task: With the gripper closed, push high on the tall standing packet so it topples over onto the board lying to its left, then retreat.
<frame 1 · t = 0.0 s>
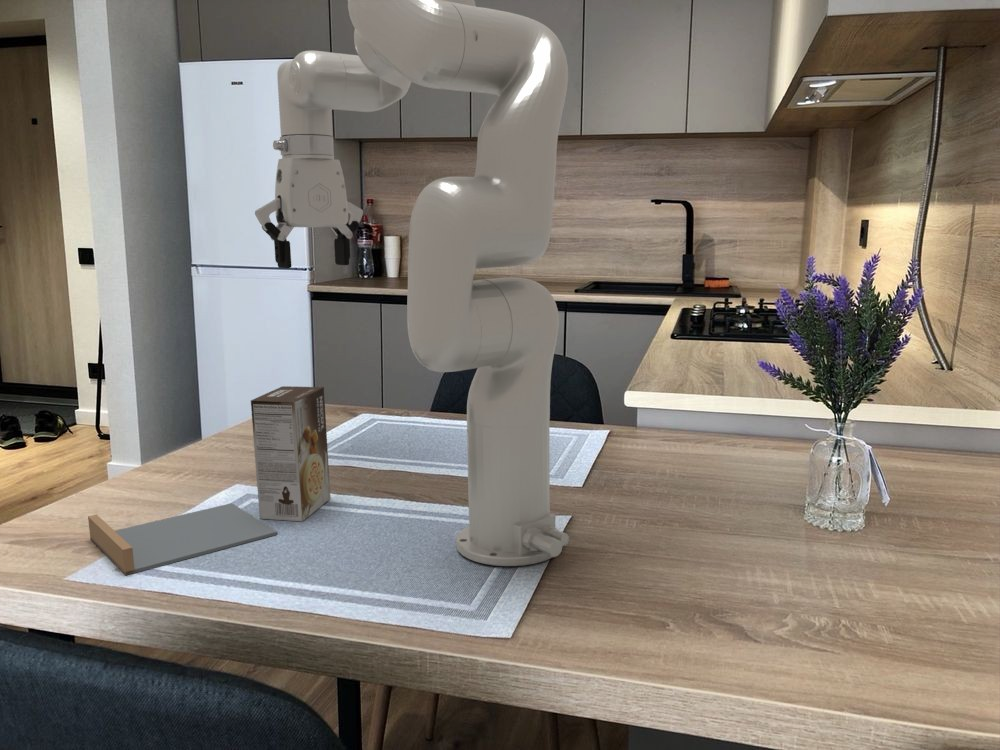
hand: (314, 266, 127), 31 cm above the table, fingers open, 9 cm apart
board: (184, 537, 103), on the table
coffee box: (296, 510, 113), on the table
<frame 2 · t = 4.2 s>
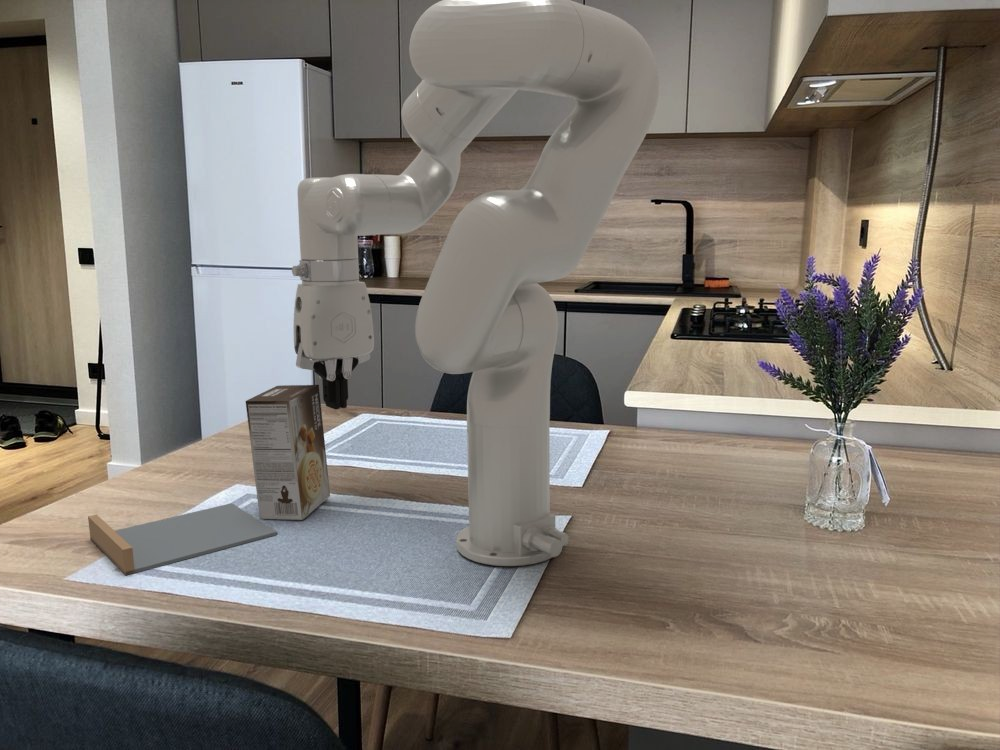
hand: (336, 406, 115), 13 cm above the table, fingers closed
coffee box: (296, 509, 113), on the table, touching gripper
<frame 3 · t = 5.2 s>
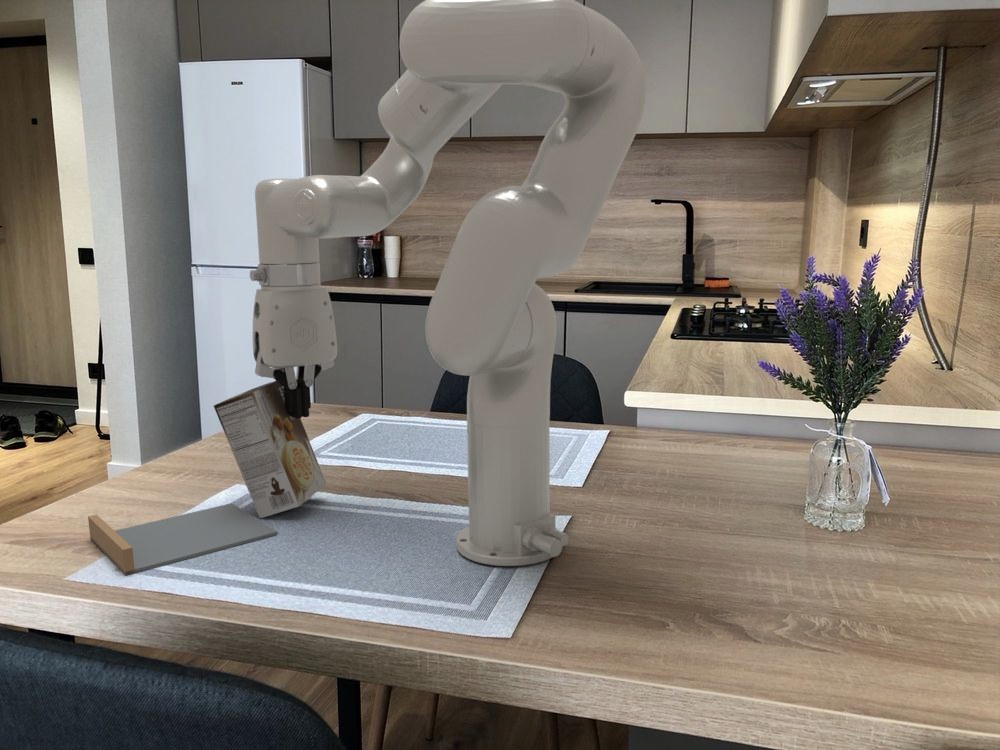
hand: (298, 415, 111), 13 cm above the table, fingers closed
coffee box: (294, 502, 113), point 1 cm above the table
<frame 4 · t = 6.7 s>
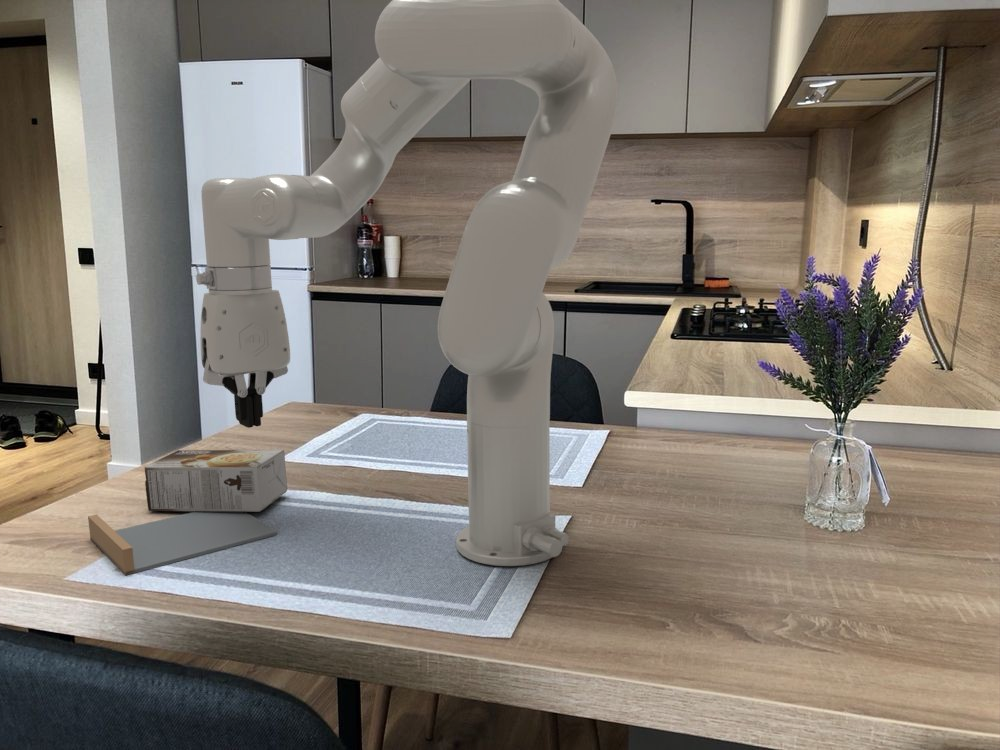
hand: (250, 424, 107), 13 cm above the table, fingers closed
coffee box: (274, 479, 113), point 4 cm above the table, touching board
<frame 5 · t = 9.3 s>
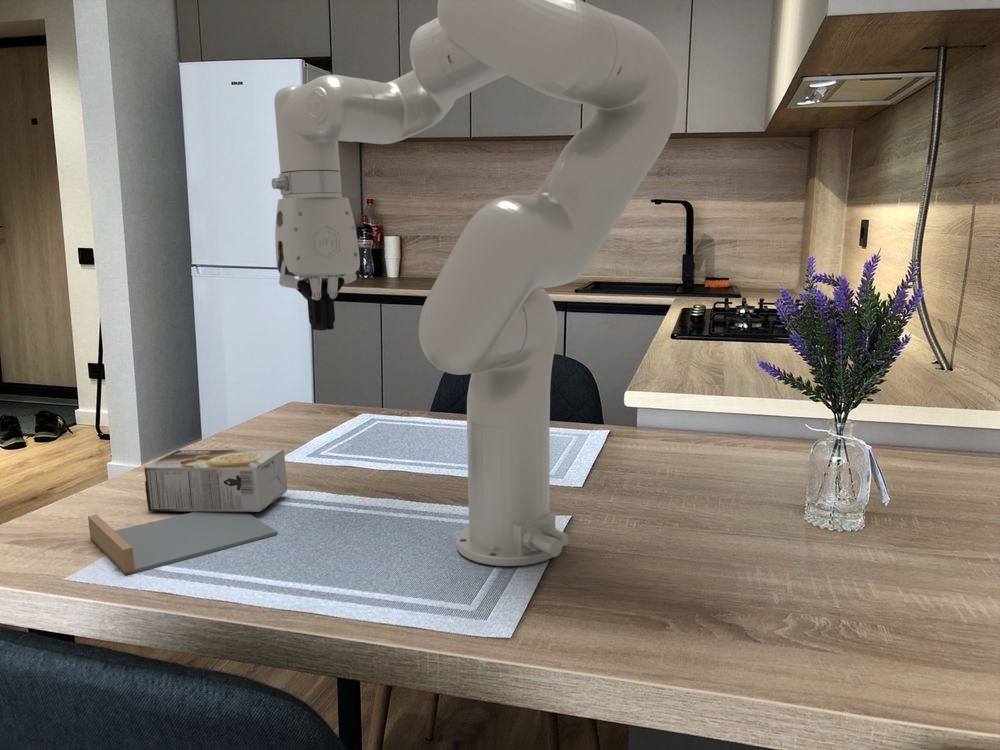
hand: (322, 329, 111), 24 cm above the table, fingers closed
nothing on the table moved.
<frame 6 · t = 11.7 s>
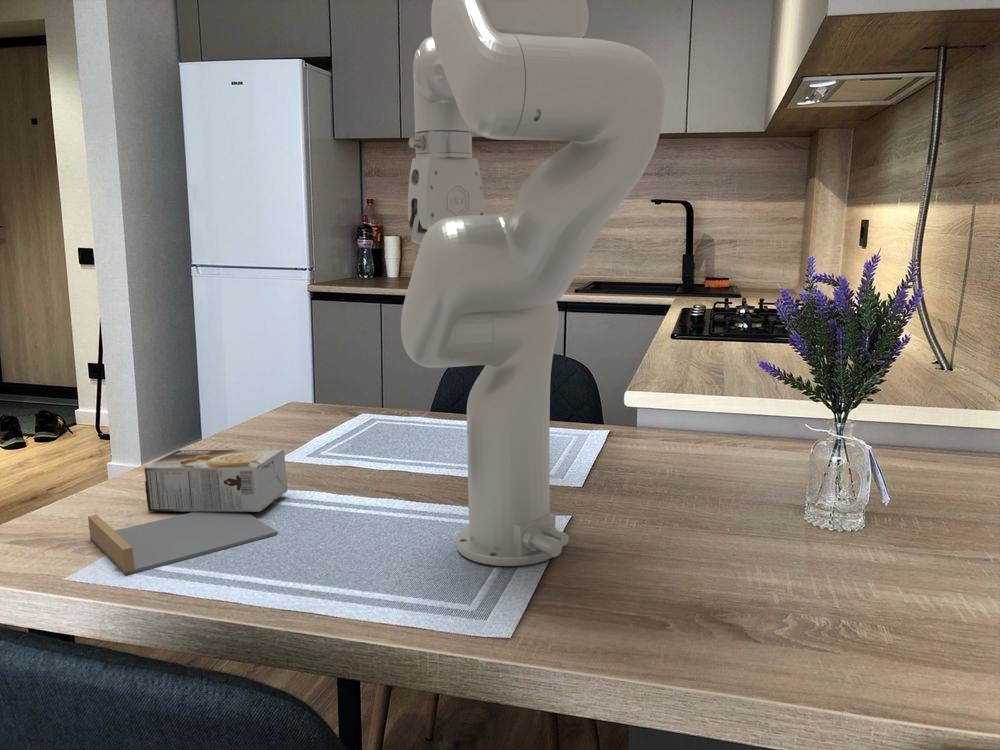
hand: (447, 285, 115), 29 cm above the table, fingers closed
nothing on the table moved.
at the end: coffee box tilted 92°; coffee box inside the target area (3.5 cm from its centre), point 3.8 cm above the table; coffee box touching board, table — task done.
